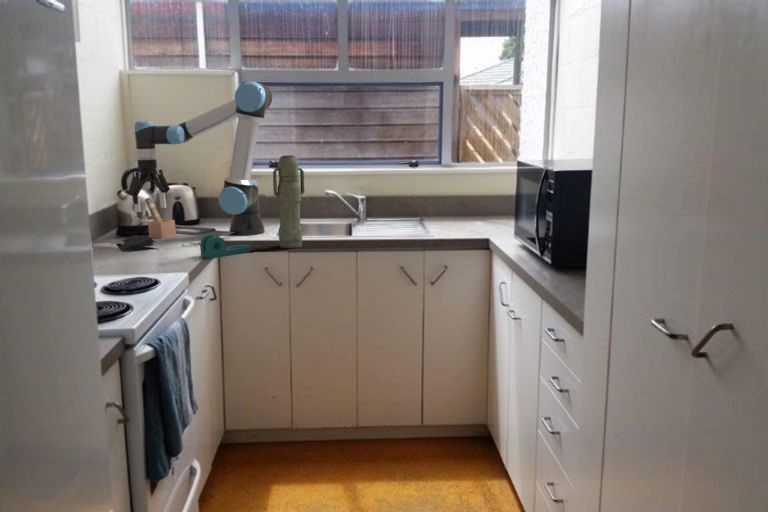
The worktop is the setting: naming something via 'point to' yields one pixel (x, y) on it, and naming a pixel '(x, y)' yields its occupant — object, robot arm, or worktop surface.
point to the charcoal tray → (204, 229)
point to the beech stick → (153, 210)
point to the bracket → (219, 247)
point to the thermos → (289, 201)
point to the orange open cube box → (162, 229)
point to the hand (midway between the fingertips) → (151, 209)
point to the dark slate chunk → (136, 243)
